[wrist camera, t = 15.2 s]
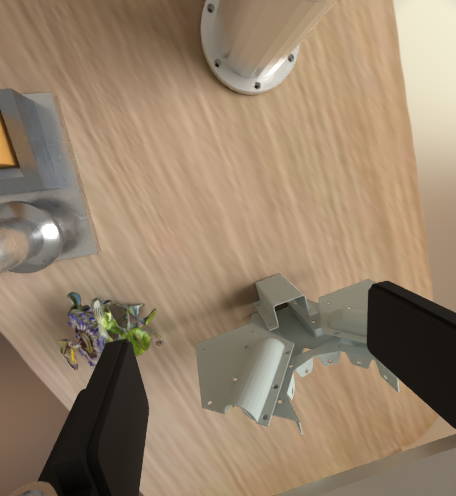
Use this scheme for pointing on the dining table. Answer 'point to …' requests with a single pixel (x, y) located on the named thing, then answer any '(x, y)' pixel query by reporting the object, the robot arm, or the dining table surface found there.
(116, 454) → the robot arm
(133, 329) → the passion flower
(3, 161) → the tan rectangular block
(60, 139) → the gray socket post fixture
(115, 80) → the dining table surface
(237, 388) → the bracket
